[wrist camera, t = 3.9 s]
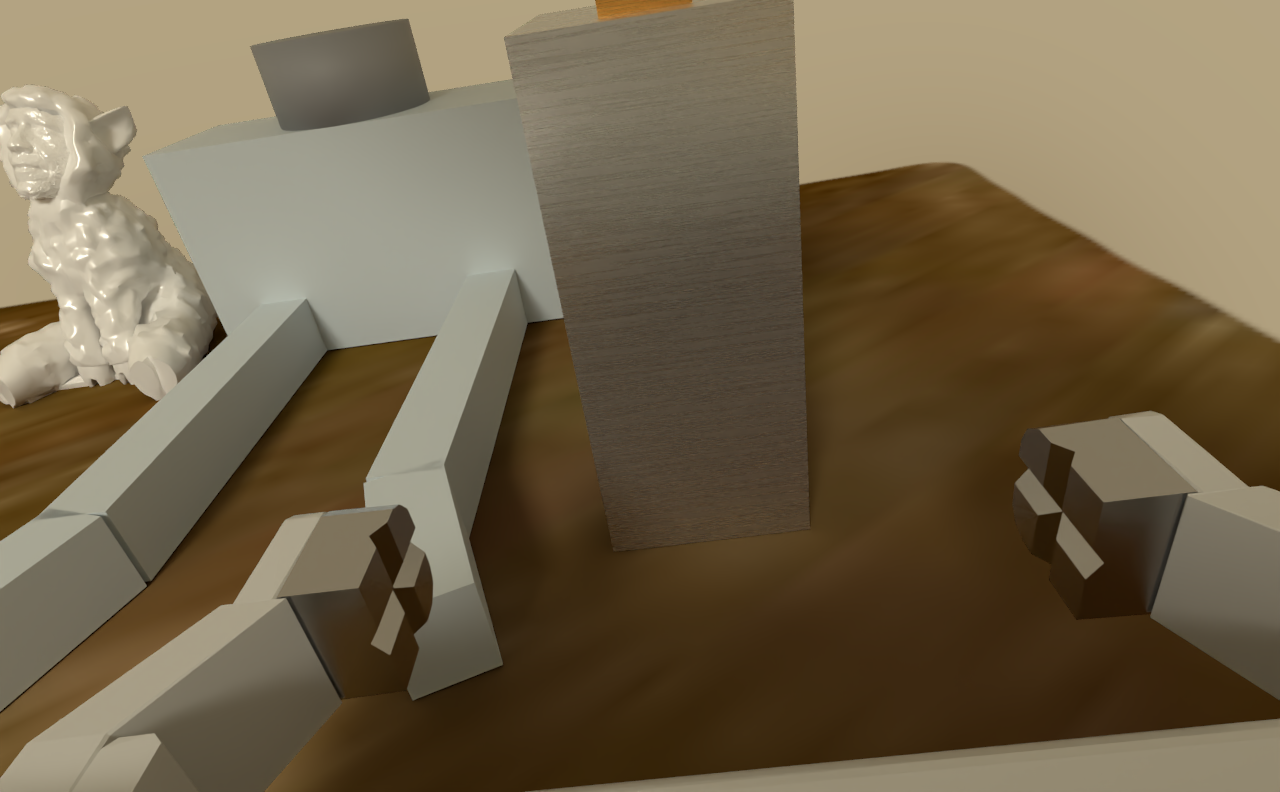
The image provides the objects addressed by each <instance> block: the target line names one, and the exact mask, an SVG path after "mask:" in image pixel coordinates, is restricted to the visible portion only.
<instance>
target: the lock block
mask: <svg viewBox="0 0 1280 792" xmlns="http://www.w3.org/2000/svg"><path fill="white" fill-rule="evenodd" d="M595 1H596V6H590V7H584V8H578V9H571V10H566V11H559V12H553V13H547V14H541V15H538V16H536V17H535V18H533V19H532V20H530V21H529V22H527V23H526V24H524V25H522V26H521V27H519V28H518V29H516V30H515V31H513V32H512V33H510V34H509V35H507V36H505V37H504V40H505V45H506V50H507V55H508V59H509V64H510V68H511V73H512V78H513V83H514V87H515V92H516V97H517V102H518V106H519V111H520V116H521V120H522V125H523V130H524V134H525V139H526V144H527V148H528V153H529V158H530V162H531V167H532V172H533V176H534V181H535V186H536V190H537V195H538V200H539V205H540V209H541V214H542V219H543V223H544V228H545V233H546V237H547V242H548V247H549V251H550V256H551V261H552V265H553V270H554V275H555V279H556V284H557V289H558V294H559V298H560V303H561V308H562V312H563V317H564V322H565V326H566V331H567V336H568V340H569V345H570V350H571V354H572V359H573V364H574V368H575V373H576V378H577V382H578V387H579V392H580V397H581V401H582V406H583V411H584V415H585V420H586V425H587V429H588V434H589V439H590V443H591V448H592V453H593V457H594V462H595V467H596V471H597V476H598V481H599V486H600V490H601V495H602V500H603V504H604V509H605V514H606V518H607V523H608V528H609V532H610V537H611V542H612V546H613V551H614V552H620V551H628V550H637V549H645V548H654V547H662V546H671V545H679V544H688V543H696V542H705V541H713V540H722V539H730V538H739V537H747V536H756V535H764V534H773V533H781V532H789V531H798V530H806V529H810V515H809V483H808V451H807V419H806V387H805V355H804V323H803V291H802V259H801V227H800V195H799V166H798V165H799V164H798V136H797V135H798V131H797V100H796V68H795V37H794V4H793V0H595Z"/></svg>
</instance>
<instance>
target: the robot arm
mask: <svg viewBox="0 0 1280 792" xmlns="http://www.w3.org/2000/svg"><path fill="white" fill-rule="evenodd" d="M1019 456H1020V458H1021V459H1022V460H1023V461H1024V463H1025V464H1026V465H1027V467H1028V470H1027V471H1026V472H1025V473H1024V474H1023V475H1022V476H1021V477H1020V478H1019V479H1018V480H1017V481H1016V482H1015V485H1014V495H1013V510H1014V516H1015V522H1016V526H1017V528H1018V531H1019V533H1020V536H1021V538H1022V540H1023V542H1024V543H1025V545H1026V546H1027V548H1028V549H1029V551H1030V552H1031V554H1033V555H1034V556H1036V557H1038V558H1040V559H1042V560H1044V561H1046V562H1048V563H1049V564H1051V570H1050V575H1049V581H1050V582H1051V583H1052V585H1053V586H1054V588H1055V589H1056V591H1057V592H1058V594H1059V595H1060V597H1061V598H1062V599H1063V601H1064V602H1065V604H1066V605H1067V607H1068V608H1069V610H1070V611H1071V613H1072V614H1073V615H1074V617H1075V618H1076V620H1081V619H1093V618H1106V617H1118V616H1131V615H1143V614H1151V616H1150V618H1152V619H1154V620H1155V621H1157V622H1158V623H1160V624H1161V625H1163V626H1164V627H1166V628H1168V629H1169V630H1171V631H1172V632H1174V633H1175V634H1177V635H1178V636H1180V637H1182V638H1183V639H1185V640H1186V641H1188V642H1189V643H1191V644H1193V645H1194V646H1196V647H1197V648H1199V649H1200V650H1202V651H1203V652H1205V653H1207V654H1208V655H1210V656H1211V657H1213V658H1214V659H1216V660H1217V661H1219V662H1221V663H1222V664H1224V665H1225V666H1227V667H1228V668H1230V669H1231V670H1233V671H1235V672H1236V673H1238V674H1239V675H1241V676H1242V677H1244V678H1245V679H1247V680H1249V681H1250V682H1252V683H1253V684H1255V685H1256V686H1258V687H1259V688H1261V689H1263V690H1264V691H1266V692H1267V693H1269V694H1270V695H1272V696H1273V697H1275V698H1277V699H1278V700H1280V492H1279V491H1277V490H1274V489H1271V488H1268V487H1265V486H1256V487H1248V486H1247V485H1246V484H1245V483H1243V482H1242V481H1241V480H1240V479H1239V478H1238V477H1236V476H1235V475H1234V474H1233V473H1232V472H1230V471H1229V470H1228V469H1227V468H1226V467H1224V466H1223V465H1222V464H1221V463H1220V462H1219V461H1217V460H1216V459H1215V458H1214V457H1213V456H1211V455H1210V454H1209V453H1208V452H1207V451H1206V450H1204V449H1203V448H1202V447H1201V446H1200V445H1198V444H1197V443H1196V442H1195V441H1194V440H1193V439H1191V438H1190V437H1189V436H1188V435H1187V434H1185V433H1184V432H1183V431H1182V430H1181V429H1179V428H1178V427H1177V426H1176V425H1175V424H1174V423H1172V422H1171V421H1170V420H1169V419H1168V418H1166V417H1165V416H1164V415H1162V414H1160V413H1156V412H1153V411H1146V412H1139V413H1133V414H1126V415H1119V416H1113V417H1109V418H1108V419H1100V420H1092V421H1084V422H1077V423H1069V424H1061V425H1053V426H1045V427H1037V428H1029V429H1027V430H1026V432H1025V434H1024V436H1023V438H1022V440H1021V446H1020V452H1019ZM415 528H416V527H415V525H414V523H413V520H412V518H411V516H410V513H409V511H408V509H407V508H405V507H403V506H402V505H400V504H398V505H388V506H377V507H367V508H357V509H347V510H337V511H330V512H320V513H311V514H303V515H294V516H292V517H290V518H288V519H286V520H285V521H284V522H283V524H282V525H281V527H280V529H279V530H278V532H277V534H276V535H275V537H274V538H273V540H272V542H271V543H270V545H269V546H268V548H267V550H266V551H265V553H264V555H263V556H262V558H261V559H260V561H259V563H258V564H257V566H256V568H255V569H254V571H253V572H252V574H251V576H250V577H249V579H248V580H247V582H246V584H245V585H244V587H243V589H242V590H241V592H240V593H239V595H238V597H237V598H236V600H235V601H234V603H233V604H229V605H221V606H220V607H218V608H217V609H215V610H214V611H213V612H211V613H210V614H208V615H207V616H206V617H204V618H203V619H201V620H200V621H199V622H197V623H196V624H194V625H193V626H192V627H190V628H189V629H187V630H186V631H185V632H183V633H182V634H180V635H179V636H178V637H176V638H175V639H173V640H172V641H170V642H169V643H168V644H166V645H165V646H163V647H162V648H161V649H159V650H158V651H156V652H155V653H154V654H152V655H151V656H149V657H148V658H147V659H145V660H144V661H142V662H141V663H140V664H138V665H137V666H135V667H134V668H132V669H131V670H130V671H128V672H127V673H125V674H124V675H123V676H121V677H120V678H118V679H117V680H116V681H114V682H113V683H111V684H110V685H109V686H107V687H106V688H104V689H103V690H102V691H100V692H99V693H97V694H96V695H95V696H93V697H92V698H90V699H89V700H87V701H86V702H85V703H83V704H82V705H80V706H79V707H78V708H76V709H75V710H73V711H72V712H71V713H69V714H68V715H66V716H65V717H64V718H62V719H61V720H59V721H58V722H57V723H55V724H54V725H52V726H51V727H50V728H48V729H47V730H45V731H44V732H42V733H41V734H40V735H38V736H37V737H35V738H34V739H33V740H31V741H30V742H28V743H27V744H26V746H25V747H24V748H23V749H22V751H21V752H20V753H19V755H18V756H17V757H16V759H15V760H14V761H13V762H12V764H11V765H10V766H9V768H8V769H7V770H6V772H5V773H4V774H3V775H2V777H1V778H0V792H264V791H265V790H266V789H267V788H268V786H269V785H270V784H271V783H272V782H273V781H274V780H275V779H276V777H277V776H278V775H279V774H280V773H281V772H282V771H283V769H284V768H285V767H286V766H287V765H288V764H289V763H290V762H291V760H292V759H293V758H294V757H295V756H296V755H297V754H298V753H299V751H300V750H301V749H302V748H303V747H304V746H305V745H306V743H307V742H308V741H309V740H310V739H311V738H312V737H313V736H314V734H315V733H316V732H317V731H318V730H319V729H320V728H321V726H322V725H323V724H324V723H325V722H326V721H327V720H328V719H329V717H330V716H331V715H332V714H333V713H334V712H335V711H336V709H337V708H338V707H339V706H340V705H341V704H342V701H341V700H342V699H350V698H357V697H365V696H372V695H379V694H387V693H394V692H402V691H406V690H407V687H408V684H409V681H410V677H411V674H412V671H413V668H414V664H415V661H416V658H417V655H418V652H419V646H418V644H417V641H416V639H415V636H414V634H415V633H416V632H417V631H418V630H419V629H420V628H421V627H422V626H423V625H424V624H425V623H426V622H427V621H428V618H429V615H430V611H431V607H432V602H433V578H432V573H431V567H430V564H429V561H428V559H427V556H426V553H425V552H424V551H422V550H421V549H420V548H418V547H417V546H415V545H414V544H413V543H411V539H412V536H413V533H414V531H415ZM527 792H1280V719H1271V720H1261V721H1251V722H1240V723H1230V724H1220V725H1209V726H1199V727H1188V728H1178V729H1168V730H1157V731H1147V732H1137V733H1126V734H1116V735H1105V736H1095V737H1085V738H1074V739H1064V740H1054V741H1043V742H1033V743H1023V744H1012V745H1002V746H992V747H981V748H971V749H961V750H950V751H940V752H930V753H919V754H909V755H898V756H888V757H878V758H867V759H857V760H847V761H836V762H826V763H816V764H805V765H795V766H785V767H774V768H764V769H754V770H744V771H733V772H723V773H713V774H702V775H692V776H682V777H671V778H661V779H651V780H640V781H630V782H620V783H609V784H599V785H589V786H578V787H568V788H558V789H547V790H537V791H527Z"/></svg>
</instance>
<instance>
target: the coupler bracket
mask: <svg viewBox="0 0 1280 792" xmlns="http://www.w3.org/2000/svg"><path fill="white" fill-rule="evenodd" d="M250 47H251V50H252V53H253V55H254V58H255V61H256V63H257V66H258V69H259V71H260V74H261V77H262V79H263V82H264V85H265V87H266V90H267V93H268V95H269V98H270V101H271V103H272V106H273V108H274V111H275V114H276V117H270V118H264V119H258V120H251V121H244V122H238V123H233V124H225V125H219V126H216V127H213V128H211V129H208V130H206V131H203V132H201V133H198V134H196V135H194V136H191V137H189V138H186V139H184V140H181V141H179V142H177V143H174V144H172V145H169V146H167V147H164V148H162V149H159V150H157V151H155V152H152V153H150V154H147V155H145V156H143V159H144V161H145V163H146V165H147V167H148V169H149V171H150V174H151V175H152V178H153V180H154V182H155V184H156V186H157V188H158V190H159V193H160V195H161V197H162V199H163V201H164V203H165V205H166V207H167V209H168V211H169V213H170V216H171V218H172V220H173V222H174V224H175V226H176V228H177V230H178V232H179V235H180V237H181V239H182V241H183V243H184V245H185V247H186V249H187V251H188V253H189V256H190V258H191V260H192V262H193V264H194V266H195V268H196V270H197V272H198V274H199V277H200V279H201V281H202V283H203V285H204V287H205V289H206V291H207V293H208V295H209V298H210V300H211V302H212V304H213V306H214V308H215V310H216V312H217V314H218V316H219V319H220V321H221V323H222V325H223V327H224V329H225V331H226V333H227V335H228V336H227V337H226V338H225V339H224V340H223V341H222V342H221V343H220V344H219V345H218V346H217V347H216V348H215V349H214V350H213V351H212V352H211V353H209V354H208V355H207V356H206V357H205V358H204V359H203V360H202V361H201V362H200V363H199V364H198V365H197V366H196V367H195V368H194V369H193V370H192V371H190V372H189V373H188V374H187V375H186V376H185V377H184V378H183V379H182V380H181V381H180V382H179V383H178V384H177V385H176V386H175V387H174V388H173V389H171V390H170V391H169V392H168V393H167V394H166V395H165V396H164V397H163V398H162V399H161V400H160V401H159V402H158V403H157V404H156V405H155V406H154V407H152V408H151V409H150V410H149V411H148V412H147V413H146V414H145V415H144V416H143V417H142V418H141V419H140V420H139V421H138V422H137V423H136V424H135V425H133V426H132V427H131V428H130V429H129V430H128V431H127V432H126V433H125V434H124V435H123V436H122V437H121V438H120V439H119V440H118V441H117V442H116V443H114V444H113V445H112V446H111V447H110V448H109V449H108V450H107V451H106V452H105V453H104V454H103V455H102V456H101V457H100V458H99V459H98V460H97V461H95V462H94V463H93V464H92V465H91V466H90V467H89V468H88V469H87V470H86V471H85V472H84V473H83V474H82V475H81V476H80V477H79V478H78V479H76V480H75V481H74V482H73V483H72V484H71V485H70V486H69V487H68V488H67V489H66V490H65V491H64V492H63V493H62V494H61V495H60V496H59V497H57V498H56V499H55V500H54V501H53V502H52V503H51V504H50V505H49V506H48V507H47V508H46V509H45V510H44V511H43V512H42V513H41V514H40V515H38V516H37V517H36V518H34V519H33V520H31V521H30V522H28V523H27V524H26V525H24V526H23V527H21V528H20V529H18V530H17V531H15V532H14V533H12V534H11V535H9V536H8V537H6V538H5V539H3V540H2V541H0V711H2V710H3V709H4V708H5V707H6V706H7V705H9V704H10V703H11V702H12V701H13V700H14V699H16V698H17V697H18V696H19V695H20V694H21V693H23V692H24V691H25V690H26V689H27V688H28V687H30V686H31V685H32V684H33V683H34V682H36V681H37V680H38V679H39V678H40V677H41V676H43V675H44V674H45V673H46V672H47V671H48V670H50V669H51V668H52V667H53V666H54V665H55V664H57V663H58V662H59V661H60V660H61V659H62V658H64V657H65V656H66V655H67V654H68V653H69V652H71V651H72V650H73V649H74V648H75V647H76V646H78V645H79V644H80V643H81V642H82V641H83V640H85V639H86V638H87V637H88V636H89V635H90V634H92V633H93V632H94V631H95V630H96V629H98V628H99V627H100V626H101V625H102V624H103V623H105V622H106V621H107V620H108V619H109V618H110V617H112V616H113V615H114V614H115V613H116V612H117V611H119V610H120V609H121V608H122V607H123V606H124V605H126V604H127V603H128V602H129V601H130V600H131V599H133V598H134V597H135V596H136V595H137V594H138V593H140V592H141V591H142V590H143V589H144V588H145V587H147V585H146V584H145V582H147V581H152V579H153V578H154V577H155V575H156V574H157V573H158V571H159V570H160V569H161V568H162V566H163V565H164V564H165V562H166V561H167V560H168V558H169V557H170V556H171V554H172V553H173V552H174V550H175V549H176V548H177V547H178V545H179V544H180V543H181V541H182V540H183V539H184V537H185V536H186V535H187V533H188V532H189V531H190V530H191V528H192V527H193V526H194V524H195V523H196V522H197V520H198V519H199V518H200V516H201V515H202V514H203V512H204V511H205V510H206V509H207V507H208V506H209V505H210V503H211V502H212V501H213V499H214V498H215V497H216V495H217V494H218V493H219V492H220V490H221V489H222V488H223V486H224V485H225V484H226V482H227V481H228V480H229V478H230V477H231V476H232V474H233V473H234V472H235V471H236V469H237V468H238V467H239V465H240V464H241V463H242V461H243V460H244V459H245V457H246V456H247V455H248V454H249V452H250V451H251V450H252V448H253V447H254V446H255V444H256V443H257V442H258V440H259V439H260V438H261V437H262V435H263V434H264V433H265V431H266V430H267V429H268V427H269V426H270V425H271V423H272V422H273V421H274V419H275V418H276V417H277V416H278V414H279V413H280V412H281V410H282V409H283V408H284V406H285V405H286V404H287V402H288V401H289V400H290V399H291V397H292V396H293V395H294V393H295V392H296V391H297V389H298V388H299V387H300V385H301V384H302V383H303V381H304V380H305V379H306V378H307V376H308V375H309V374H310V372H311V371H312V370H313V368H314V367H315V366H316V364H317V363H318V362H319V361H320V359H321V358H322V357H323V355H324V354H325V353H326V351H327V350H333V349H340V348H348V347H355V346H362V345H369V344H377V343H384V342H391V341H399V340H406V339H413V338H420V337H428V336H435V335H437V337H436V339H435V341H434V343H433V345H432V347H431V349H430V351H429V353H428V355H427V357H426V359H425V361H424V363H423V365H422V367H421V369H420V371H419V373H418V375H417V377H416V379H415V381H414V383H413V385H412V387H411V389H410V391H409V393H408V395H407V397H406V399H405V401H404V403H403V405H402V407H401V409H400V411H399V413H398V415H397V417H396V419H395V421H394V423H393V425H392V427H391V429H390V431H389V433H388V435H387V437H386V439H385V441H384V443H383V445H382V447H381V449H380V451H379V453H378V455H377V457H376V459H375V461H374V463H373V465H372V467H371V469H370V471H369V473H368V475H367V477H366V480H367V482H366V483H364V494H365V506H366V508H367V507H377V506H388V505H398V504H400V505H402V506H403V507H405V508H407V509H408V511H409V513H410V516H411V518H412V520H413V523H414V525H415V527H416V528H415V531H414V533H413V536H412V539H411V543H413V544H414V545H415V546H417V547H418V548H420V549H421V550H422V551H424V552H425V553H426V556H427V559H428V561H429V564H430V567H431V573H432V578H433V602H432V607H431V611H430V615H429V618H428V621H427V622H426V623H425V624H424V625H423V626H422V627H421V628H420V629H419V630H418V631H417V632H416V633H415V634H414V636H415V639H416V641H417V644H418V646H419V652H418V655H417V658H416V661H415V664H414V668H413V671H412V674H411V677H410V681H409V684H408V687H407V690H408V692H409V694H410V696H411V698H412V701H413V700H415V699H418V698H420V697H423V696H425V695H428V694H430V693H433V692H435V691H438V690H440V689H443V688H446V687H448V686H451V685H453V684H456V683H458V682H461V681H463V680H466V679H468V678H471V677H473V676H476V675H478V674H481V673H484V672H486V671H489V670H491V669H494V668H496V667H499V666H501V665H503V662H502V658H501V654H500V651H499V647H498V643H497V640H496V636H495V632H494V629H493V625H492V621H491V618H490V614H489V610H488V606H487V603H486V599H485V595H484V592H483V588H482V584H481V581H480V577H479V573H478V570H477V566H476V562H475V558H474V555H473V551H472V547H471V544H470V540H469V537H470V533H471V530H472V526H473V522H474V519H475V515H476V511H477V507H478V504H479V500H480V496H481V493H482V489H483V485H484V482H485V478H486V474H487V471H488V467H489V463H490V460H491V456H492V452H493V449H494V445H495V441H496V437H497V434H498V430H499V426H500V423H501V419H502V415H503V412H504V408H505V404H506V401H507V397H508V393H509V390H510V386H511V382H512V379H513V375H514V371H515V367H516V364H517V360H518V356H519V353H520V349H521V345H522V342H523V338H524V334H525V331H526V327H527V323H529V322H537V321H544V320H551V319H558V318H564V317H563V312H562V308H561V303H560V298H559V294H558V289H557V284H556V279H555V275H554V270H553V265H552V261H551V256H550V251H549V247H548V242H547V237H546V233H545V228H544V223H543V219H542V214H541V209H540V205H539V200H538V195H537V190H536V186H535V181H534V176H533V172H532V167H531V162H530V158H529V153H528V148H527V144H526V139H525V134H524V130H523V125H522V120H521V116H520V111H519V106H518V102H517V97H516V92H515V87H514V83H513V79H512V80H505V81H498V82H492V83H486V84H479V85H473V86H467V87H461V88H454V89H448V90H442V91H435V92H429V93H428V90H427V86H426V83H425V79H424V75H423V71H422V68H421V64H420V60H419V57H418V53H417V49H416V45H415V42H414V38H413V35H412V31H411V27H410V24H409V20H408V19H400V20H392V21H385V22H379V23H372V24H366V25H359V26H354V27H348V28H341V29H336V30H330V31H324V32H318V33H313V34H307V35H302V36H296V37H291V38H286V39H281V40H276V41H271V42H266V43H261V44H257V45H253V46H250Z"/></svg>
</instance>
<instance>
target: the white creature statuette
mask: <svg viewBox="0 0 1280 792" xmlns="http://www.w3.org/2000/svg"><path fill="white" fill-rule="evenodd" d="M1 98H2V101H3V102H4V103H5V104H3V105H1V106H0V145H1V148H0V161H1V162H3V168H4V170H5V172H6V173H7V175H8V177H9V183H10V185H11V186H12V187H14V188H15V189H16V191H17V192H18V195H19V196H20V197H22V198H24V199H25V200H30V208H29V212H28V217H29V219H28V226H29V233H30V234H31V235H32V238H33V246H32V247H31V252H30V255H29V258H28V265H29V266H30V267H31V268H32V269H33V270H34V271H36V272H37V273H38V274H39V275H41V276H42V278H43V279H44V280H45V281H47V282H48V283H50V285H51V292H52V293H53V294H54V295H55V296H56V298H57V300H58V304H59V307H60V311H59V318H60V322H56V323H51V324H49V325H47V326H45V327H44V328H42V329H40V330H39V331H37V332H33V333H30V334H26V335H25V336H23V337H22V338H20V339H18V340H16V341H15V342H14V343H12V344H10V345H9V346H7V347H5V348H4V349H3V350H1V355H0V401H1V402H3V403H4V404H10V405H11V406H12V407H13V408H16V407H18V406H21V405H24V404H26V403H32V402H34V401H36V400H38V399H40V398H42V397H44V396H47V395H49V394H51V393H53V392H56V391H58V390H63V389H70V388H78V387H85V386H90V387H92V386H95V384H96V383H97V382H98V384H99V385H100V386H104V385H106V384H109V383H111V382H113V381H114V380H118V379H119V380H120V381H121V382H122V383H123V384H127V383H128V382H130V384H131V385H133V384H135V385H136V386H137V388H138V389H139V390H140V391H141V392H143V393H144V394H145V395H147V396H150V397H152V398H153V399H155V400H156V401H157V400H161V399H162V398H163V397H164V396H165V395H166V394H167V393H168V392H169V391H170V390H171V389H173V388H174V387H175V386H176V385H177V384H178V383H179V382H180V381H181V380H182V379H183V378H184V377H185V376H186V375H187V374H188V373H189V372H190V371H192V370H193V369H194V368H195V367H196V366H197V365H198V364H199V363H200V362H201V361H202V358H203V356H204V355H205V354H206V353H207V352H208V348H209V346H208V345H209V343H210V342H211V340H212V339H213V330H214V329H215V327H216V325H217V320H216V318H217V317H218V314H217V312H216V310H215V308H214V306H213V304H212V302H211V300H210V298H209V295H208V293H207V291H206V289H205V287H204V285H203V283H202V281H201V279H200V277H199V274H198V272H197V270H196V268H195V266H194V264H193V263H191V262H189V261H187V259H186V258H185V256H184V255H183V254H182V253H181V252H180V250H179V249H177V248H174V247H171V245H170V244H169V243H168V242H167V241H165V238H164V236H162V235H161V233H160V232H159V231H158V226H157V225H158V224H157V221H156V219H155V218H153V217H152V216H150V215H147V214H145V212H144V211H143V210H141V209H140V208H138V207H137V206H135V205H134V204H133V203H132V202H131V201H129V200H128V199H127V198H125V197H123V196H121V195H112V194H110V193H109V192H108V191H109V190H110V189H111V188H112V186H113V184H114V182H115V180H116V179H118V178H119V177H120V176H121V170H122V168H123V167H124V163H123V158H124V156H125V155H126V154H128V153H129V152H130V151H131V149H130V147H129V146H128V144H129V143H130V142H131V141H132V140H133V138H134V137H135V135H136V132H137V129H136V126H135V124H134V121H133V118H132V115H131V112H130V110H129V108H128V106H122V107H119V108H116V109H113V110H110V111H108V112H105V113H104V112H102V111H100V110H99V109H98V107H97V106H96V105H95V104H94V103H92V102H91V101H89V100H87V99H85V98H83V97H80V96H77V95H75V96H72V97H70V96H69V95H67V94H65V93H64V92H61V91H57V90H54V89H51V88H49V87H46V86H37V85H25V86H24V87H22V88H21V87H12V88H11V89H9V90H7V91H5V92H3V93H2V95H1Z"/></svg>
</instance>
